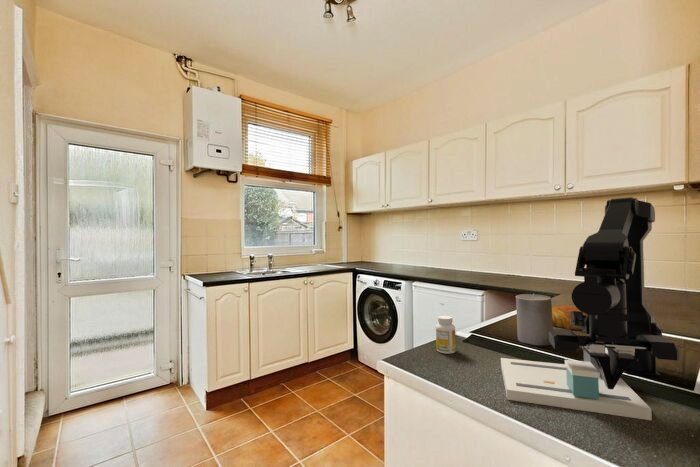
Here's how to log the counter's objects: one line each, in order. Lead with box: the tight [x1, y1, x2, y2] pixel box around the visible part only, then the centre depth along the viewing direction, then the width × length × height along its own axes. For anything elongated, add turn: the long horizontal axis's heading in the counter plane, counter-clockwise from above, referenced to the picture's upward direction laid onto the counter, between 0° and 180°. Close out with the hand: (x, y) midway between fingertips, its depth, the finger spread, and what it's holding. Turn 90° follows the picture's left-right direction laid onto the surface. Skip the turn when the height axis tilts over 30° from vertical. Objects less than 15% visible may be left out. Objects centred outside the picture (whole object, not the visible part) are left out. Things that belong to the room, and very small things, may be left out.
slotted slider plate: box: [500, 357, 653, 421], centre depth 70 cm, size 23×18×2 cm
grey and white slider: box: [581, 347, 609, 376], centre depth 72 cm, size 4×5×5 cm
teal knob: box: [564, 359, 600, 399], centre depth 63 cm, size 4×5×5 cm
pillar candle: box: [515, 292, 554, 347], centre depth 101 cm, size 10×10×15 cm
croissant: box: [552, 304, 587, 331], centre depth 117 cm, size 14×16×8 cm
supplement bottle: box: [435, 315, 457, 355], centre depth 94 cm, size 5×5×10 cm
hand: (609, 388), depth 62 cm, fingers closed
